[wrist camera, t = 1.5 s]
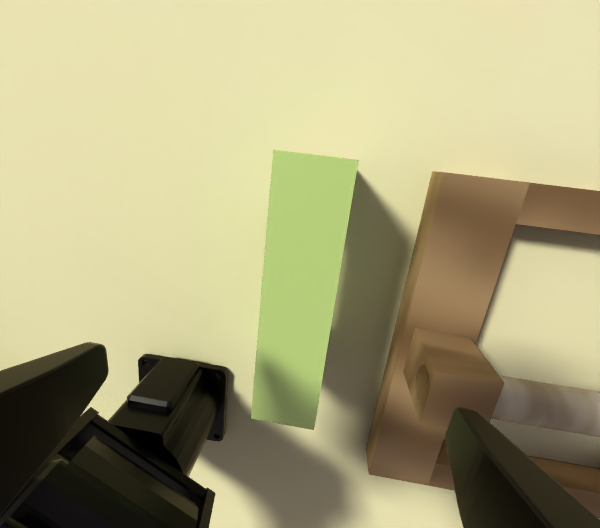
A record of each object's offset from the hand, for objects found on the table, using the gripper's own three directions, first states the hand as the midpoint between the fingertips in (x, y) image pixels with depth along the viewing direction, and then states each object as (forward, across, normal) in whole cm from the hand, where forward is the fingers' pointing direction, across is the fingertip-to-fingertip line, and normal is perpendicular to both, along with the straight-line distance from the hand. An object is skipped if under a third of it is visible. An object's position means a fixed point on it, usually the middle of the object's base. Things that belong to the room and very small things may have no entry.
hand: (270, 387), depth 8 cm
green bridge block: (+12, 0, +1) cm, 12 cm away
